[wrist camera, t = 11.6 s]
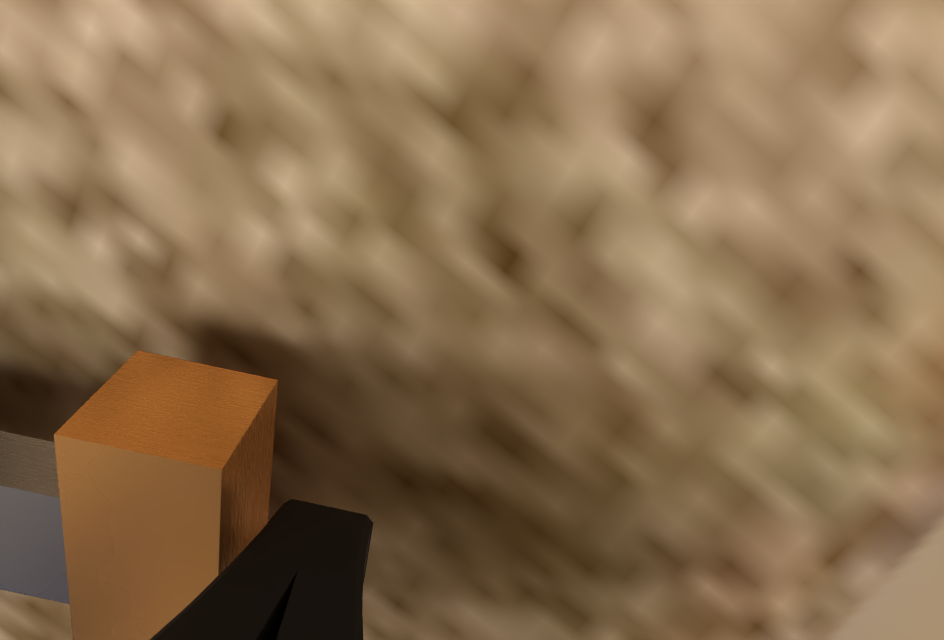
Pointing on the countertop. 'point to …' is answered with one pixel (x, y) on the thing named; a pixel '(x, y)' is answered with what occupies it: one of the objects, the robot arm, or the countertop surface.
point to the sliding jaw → (138, 494)
